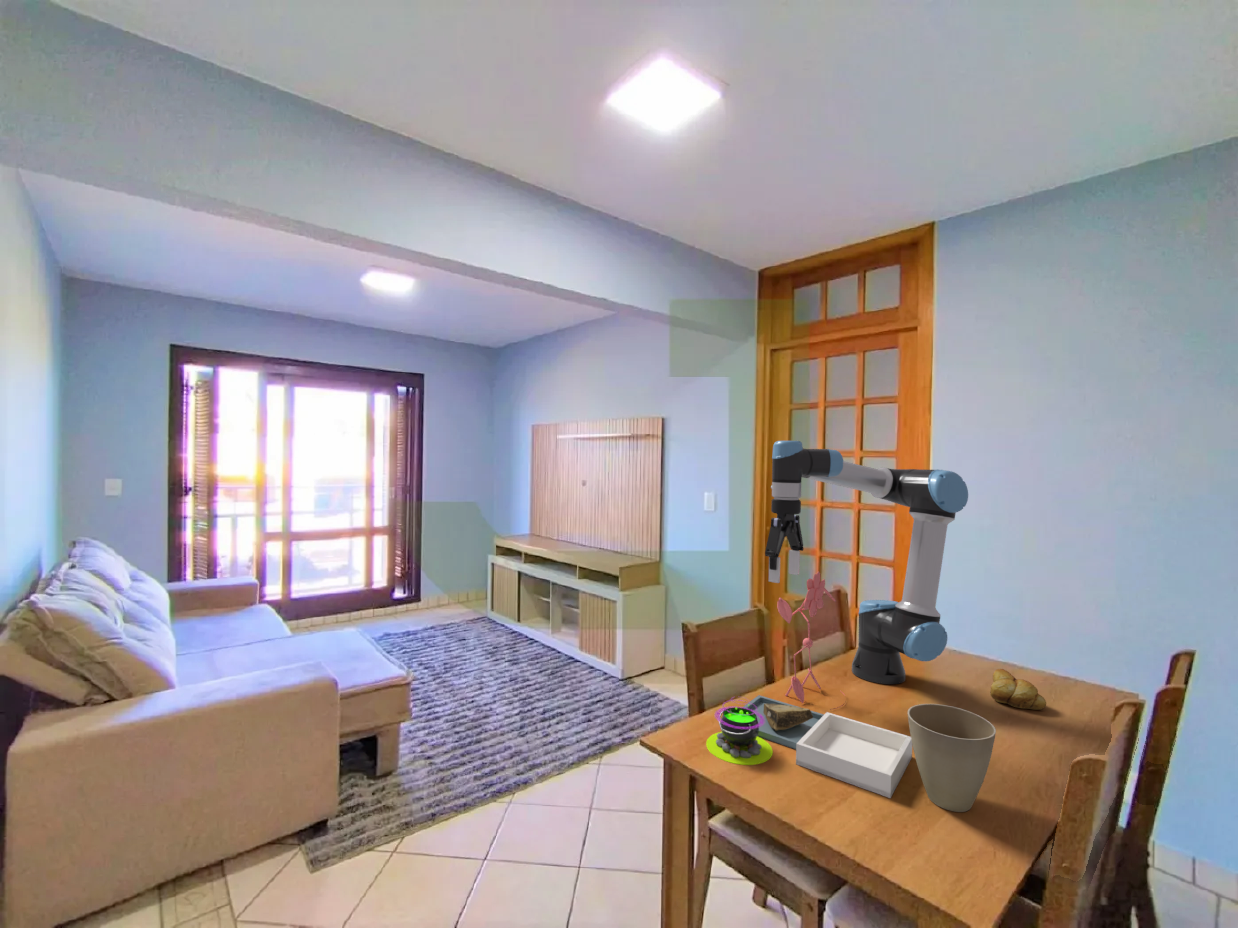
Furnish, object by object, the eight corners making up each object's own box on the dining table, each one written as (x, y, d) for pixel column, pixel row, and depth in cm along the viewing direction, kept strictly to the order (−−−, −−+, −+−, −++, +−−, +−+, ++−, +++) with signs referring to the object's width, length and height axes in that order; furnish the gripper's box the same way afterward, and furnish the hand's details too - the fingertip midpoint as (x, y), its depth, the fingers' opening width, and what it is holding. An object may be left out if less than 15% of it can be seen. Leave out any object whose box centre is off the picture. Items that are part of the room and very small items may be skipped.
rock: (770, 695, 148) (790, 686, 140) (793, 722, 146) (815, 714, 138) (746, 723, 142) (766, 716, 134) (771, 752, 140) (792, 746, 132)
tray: (758, 700, 154) (758, 694, 154) (828, 721, 142) (828, 715, 142) (726, 725, 139) (726, 719, 139) (801, 751, 127) (801, 744, 127)
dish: (826, 730, 138) (826, 711, 138) (911, 756, 126) (912, 737, 126) (795, 763, 122) (796, 743, 122) (890, 798, 110) (891, 775, 110)
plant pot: (915, 770, 120) (917, 696, 120) (998, 798, 111) (1000, 718, 111) (896, 802, 109) (898, 720, 109) (987, 836, 99) (990, 747, 99)
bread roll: (1050, 708, 153) (1050, 679, 153) (1039, 718, 147) (1039, 687, 147) (995, 692, 163) (996, 664, 163) (983, 700, 157) (984, 672, 157)
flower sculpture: (767, 703, 152) (770, 575, 152) (811, 678, 170) (813, 563, 170) (822, 723, 141) (825, 585, 141) (862, 694, 160) (865, 571, 159)
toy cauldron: (694, 737, 133) (695, 691, 133) (748, 727, 138) (749, 683, 138) (728, 770, 119) (729, 719, 119) (786, 758, 124) (787, 709, 124)
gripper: (790, 495, 162) (788, 569, 162) (752, 499, 142) (750, 583, 142) (816, 497, 157) (814, 572, 157) (781, 501, 137) (779, 588, 138)
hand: (784, 578), depth 150 cm, fingers open, 13 cm apart
